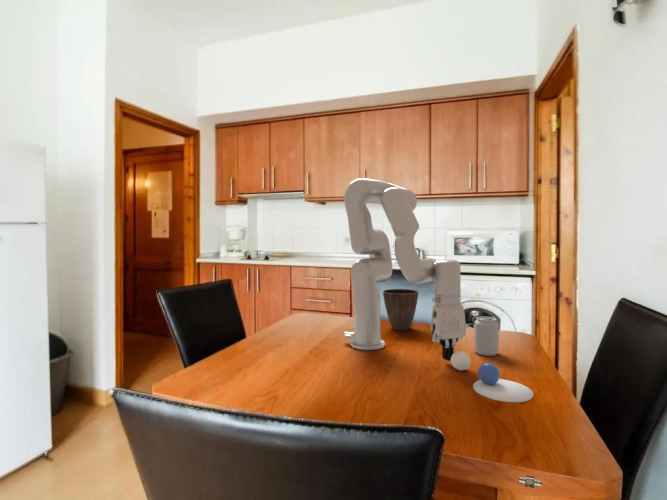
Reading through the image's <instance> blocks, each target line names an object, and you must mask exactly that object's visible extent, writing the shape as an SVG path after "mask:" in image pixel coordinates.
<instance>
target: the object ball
mask: <svg viewBox="0 0 667 500" xmlns="http://www.w3.org/2000/svg"><path fill="white" fill-rule="evenodd" d="M477 377H478V378H479V380H481V381H482V382H484V383H486V384H495V383H496V382H498V380H499V379H501V378H500V377H501V371H500V369H499V368H498V367H497V366H496V365H495V364H494V363H491V362H484V363H481V365H479V367H478V369H477Z"/></svg>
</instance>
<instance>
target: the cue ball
mask: <svg viewBox="0 0 667 500" xmlns="http://www.w3.org/2000/svg"><path fill="white" fill-rule="evenodd" d="M450 364H451V366H452V367H453V368H454V369H455V370H457V371H460V372H461V371H465V370H468V369H469V368H470V365H471V358H470V356H469V354H468V353H466V352H465V351H462V350H461V351H460V350H457V351H454V352H453V355H452V356H451V360H450Z"/></svg>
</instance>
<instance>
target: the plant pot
mask: <svg viewBox="0 0 667 500" xmlns="http://www.w3.org/2000/svg"><path fill="white" fill-rule="evenodd" d="M382 294H383V295H382V296H383V301H384V307H385V311H386V315H387V318H388V321H389V324H390V326H391V329H393V330H395V331H409V330H410V329H411V327H412V325H413V324H412V323H413V320H414V317H415V313H416V309H417V304H418V297H419V291H418V290H415V289H406V288H405V289H404V288H392V289H391V288H390V289H384V290H382Z"/></svg>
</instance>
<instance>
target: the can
mask: <svg viewBox="0 0 667 500" xmlns="http://www.w3.org/2000/svg"><path fill="white" fill-rule="evenodd" d="M499 325H500V324H499V322H498V321H497V318H496V317H492V316H485V315H484V316H477V317H476V320H475V321H474V351H475V352H476V353H477V354H478V355H480V356H483V357H484V356H485V357H494V356H496V355H497V354H499V352H500V348H499V345H500V343H499V339H500V336H499V335H500V329H499V327H500V326H499Z"/></svg>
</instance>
